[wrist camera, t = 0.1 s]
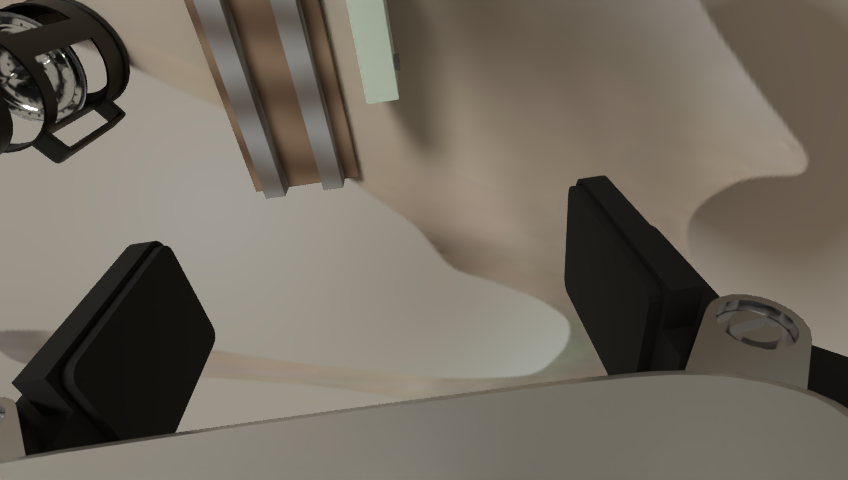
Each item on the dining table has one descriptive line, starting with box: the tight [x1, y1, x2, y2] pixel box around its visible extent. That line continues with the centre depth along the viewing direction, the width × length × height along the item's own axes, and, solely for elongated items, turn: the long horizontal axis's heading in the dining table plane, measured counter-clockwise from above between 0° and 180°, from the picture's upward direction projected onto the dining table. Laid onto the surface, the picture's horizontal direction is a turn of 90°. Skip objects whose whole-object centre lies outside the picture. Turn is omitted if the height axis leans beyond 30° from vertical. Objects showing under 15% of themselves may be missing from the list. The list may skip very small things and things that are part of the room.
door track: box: [184, 0, 359, 199], centre depth 43 cm, size 20×11×3 cm, turn 7°
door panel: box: [346, 0, 400, 104], centre depth 36 cm, size 12×3×10 cm, turn 8°
